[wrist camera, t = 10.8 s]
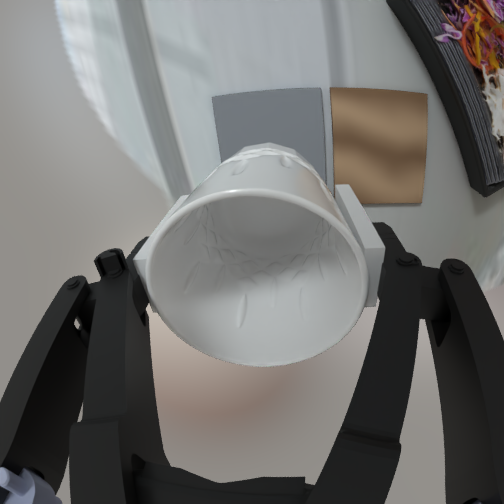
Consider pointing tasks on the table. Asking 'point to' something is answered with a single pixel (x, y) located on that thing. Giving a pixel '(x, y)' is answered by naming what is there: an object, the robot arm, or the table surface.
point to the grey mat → (272, 122)
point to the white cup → (258, 263)
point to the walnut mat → (380, 143)
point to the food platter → (465, 75)
